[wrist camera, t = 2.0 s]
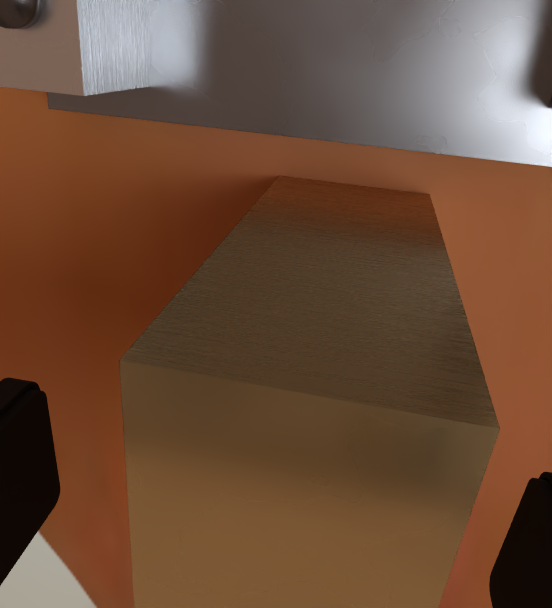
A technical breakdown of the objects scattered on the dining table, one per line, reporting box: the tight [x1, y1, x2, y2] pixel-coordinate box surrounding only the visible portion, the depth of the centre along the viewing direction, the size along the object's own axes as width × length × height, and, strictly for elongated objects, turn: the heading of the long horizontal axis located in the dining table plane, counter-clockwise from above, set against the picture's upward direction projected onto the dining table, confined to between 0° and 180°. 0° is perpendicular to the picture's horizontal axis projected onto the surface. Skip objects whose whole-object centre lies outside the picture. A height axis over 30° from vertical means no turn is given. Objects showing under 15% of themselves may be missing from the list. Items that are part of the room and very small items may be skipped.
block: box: [119, 176, 500, 608], centre depth 14 cm, size 5×8×12 cm, turn 175°
